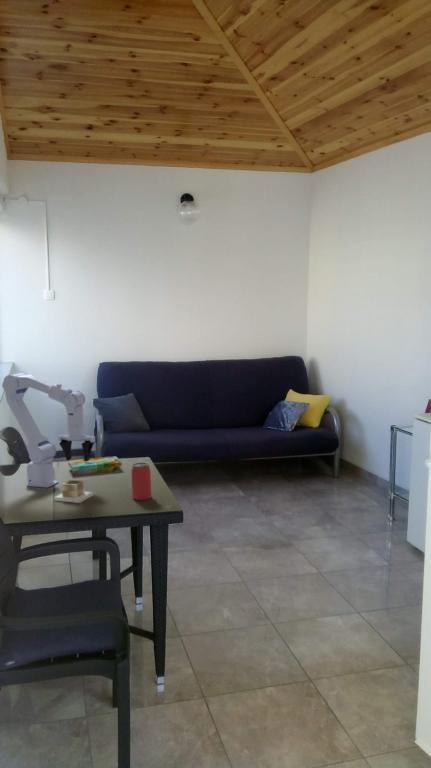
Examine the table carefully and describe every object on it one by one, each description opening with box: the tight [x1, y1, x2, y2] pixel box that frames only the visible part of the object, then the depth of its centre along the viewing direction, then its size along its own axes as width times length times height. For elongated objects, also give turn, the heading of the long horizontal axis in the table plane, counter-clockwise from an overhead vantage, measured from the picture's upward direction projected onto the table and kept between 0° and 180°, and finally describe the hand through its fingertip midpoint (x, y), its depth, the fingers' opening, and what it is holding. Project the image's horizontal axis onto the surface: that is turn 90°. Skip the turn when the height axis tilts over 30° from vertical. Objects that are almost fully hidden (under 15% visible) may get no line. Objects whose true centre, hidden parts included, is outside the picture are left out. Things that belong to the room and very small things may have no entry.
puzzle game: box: [67, 455, 123, 476], centre depth 275 cm, size 12×5×20 cm
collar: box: [61, 479, 86, 498], centre depth 236 cm, size 6×6×4 cm
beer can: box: [130, 462, 152, 501], centre depth 234 cm, size 7×7×12 cm
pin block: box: [54, 491, 94, 504], centre depth 236 cm, size 10×9×5 cm
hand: (77, 460), depth 249 cm, fingers open, 7 cm apart
